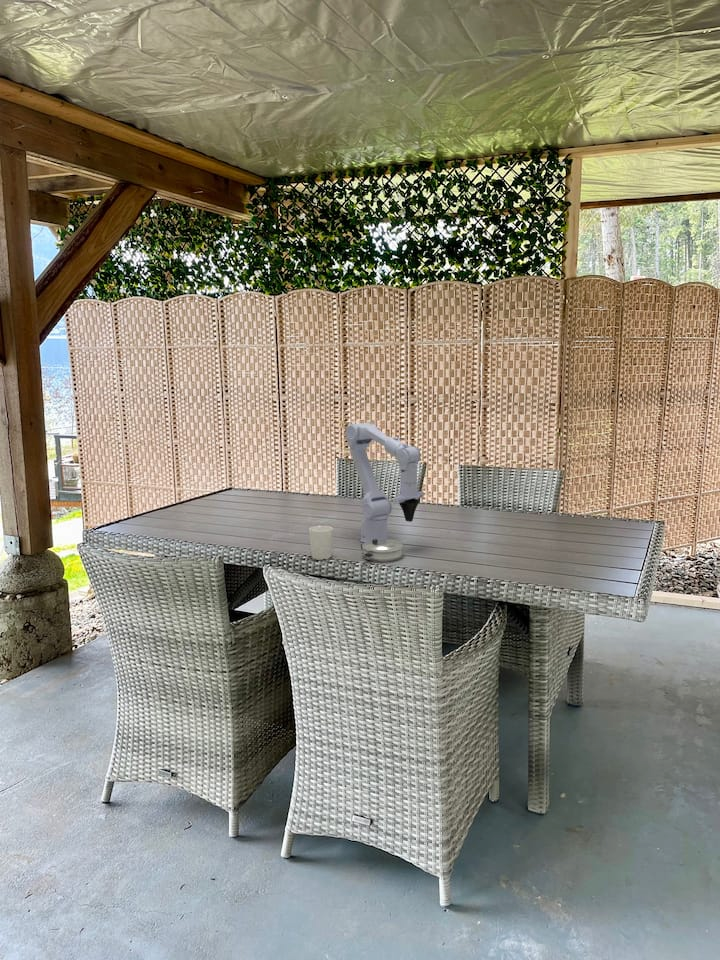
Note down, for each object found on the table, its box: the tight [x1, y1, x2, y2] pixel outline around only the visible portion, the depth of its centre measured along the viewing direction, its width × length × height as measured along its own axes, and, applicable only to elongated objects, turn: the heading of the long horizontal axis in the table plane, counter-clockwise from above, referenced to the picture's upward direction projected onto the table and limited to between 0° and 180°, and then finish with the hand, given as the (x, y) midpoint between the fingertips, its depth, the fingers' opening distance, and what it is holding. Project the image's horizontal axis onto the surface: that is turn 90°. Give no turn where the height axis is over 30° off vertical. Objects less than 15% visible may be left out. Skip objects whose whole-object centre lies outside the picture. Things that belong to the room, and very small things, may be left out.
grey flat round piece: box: [360, 543, 403, 563], centre depth 232 cm, size 15×16×3 cm
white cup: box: [308, 525, 334, 561], centre depth 232 cm, size 8×8×10 cm
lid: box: [361, 539, 404, 553], centre depth 231 cm, size 14×14×2 cm
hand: (409, 521), depth 238 cm, fingers closed
